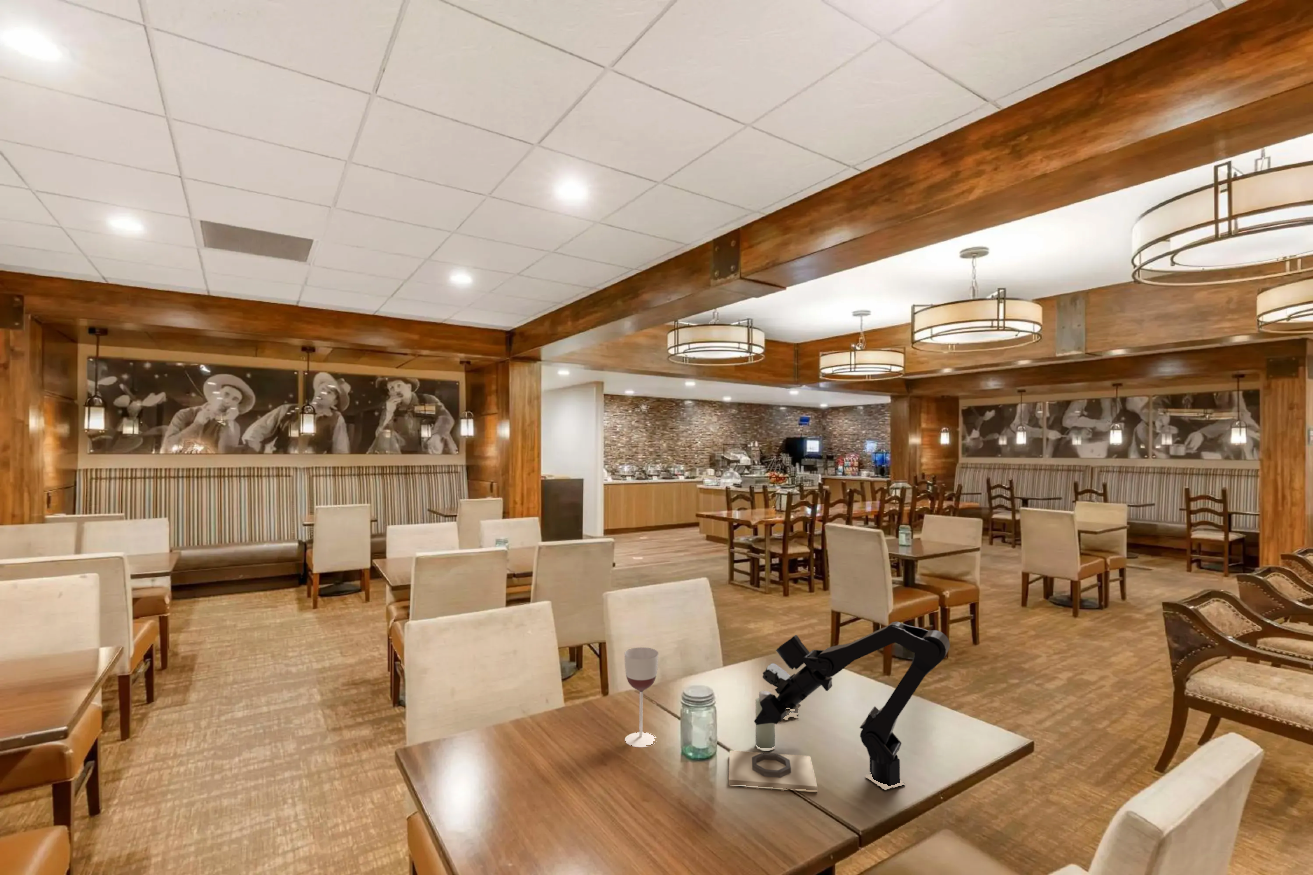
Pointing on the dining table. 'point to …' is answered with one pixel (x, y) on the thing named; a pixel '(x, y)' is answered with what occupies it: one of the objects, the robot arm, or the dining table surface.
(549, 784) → the dining table surface
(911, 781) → the dining table surface
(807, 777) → the board
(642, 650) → the wineglass
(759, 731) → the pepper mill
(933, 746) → the dining table surface
